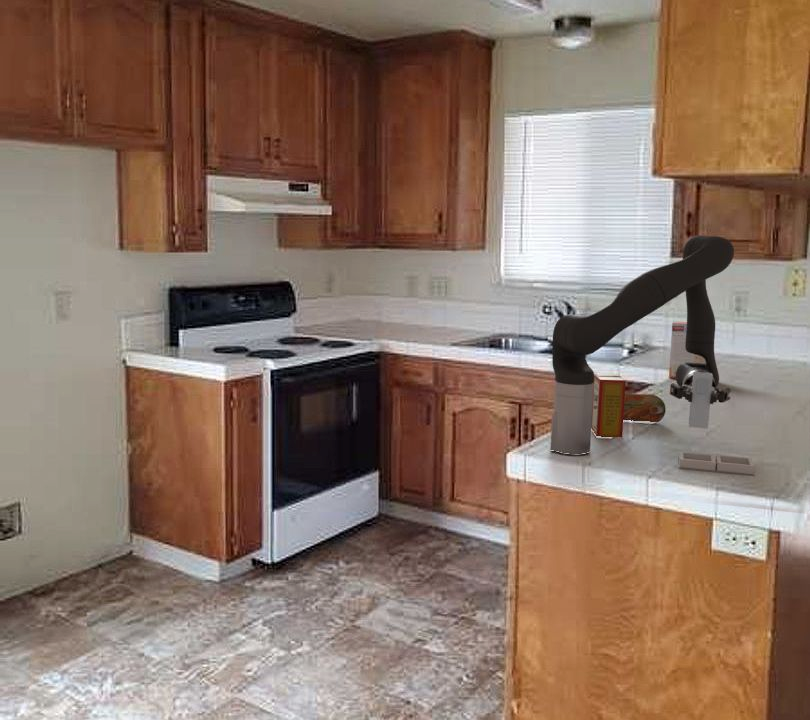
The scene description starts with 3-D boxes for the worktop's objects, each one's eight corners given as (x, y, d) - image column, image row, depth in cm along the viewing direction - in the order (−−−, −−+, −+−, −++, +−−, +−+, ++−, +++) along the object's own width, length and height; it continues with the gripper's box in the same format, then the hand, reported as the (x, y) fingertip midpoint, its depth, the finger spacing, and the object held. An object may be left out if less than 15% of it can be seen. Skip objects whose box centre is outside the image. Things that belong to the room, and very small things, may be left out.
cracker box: (710, 380, 321) (715, 323, 318) (707, 382, 316) (711, 325, 313) (672, 376, 328) (676, 320, 325) (668, 378, 323) (672, 322, 320)
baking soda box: (622, 439, 225) (625, 379, 223) (596, 438, 226) (600, 378, 223) (615, 431, 235) (619, 372, 232) (591, 430, 235) (594, 372, 233)
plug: (689, 427, 195) (693, 374, 193) (688, 423, 199) (693, 371, 197) (707, 429, 194) (712, 376, 192) (707, 425, 198) (712, 373, 196)
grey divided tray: (678, 474, 194) (679, 461, 194) (677, 461, 205) (678, 449, 204) (754, 481, 190) (755, 468, 189) (750, 468, 200) (751, 456, 200)
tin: (609, 422, 246) (611, 393, 245) (608, 420, 249) (610, 391, 248) (664, 425, 244) (666, 395, 242) (663, 423, 247) (665, 393, 245)
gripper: (669, 368, 211) (669, 379, 194) (732, 373, 207) (737, 384, 190) (667, 398, 212) (666, 411, 196) (728, 404, 208) (733, 418, 192)
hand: (701, 398), depth 193 cm, fingers closed on plug, 4 cm apart
